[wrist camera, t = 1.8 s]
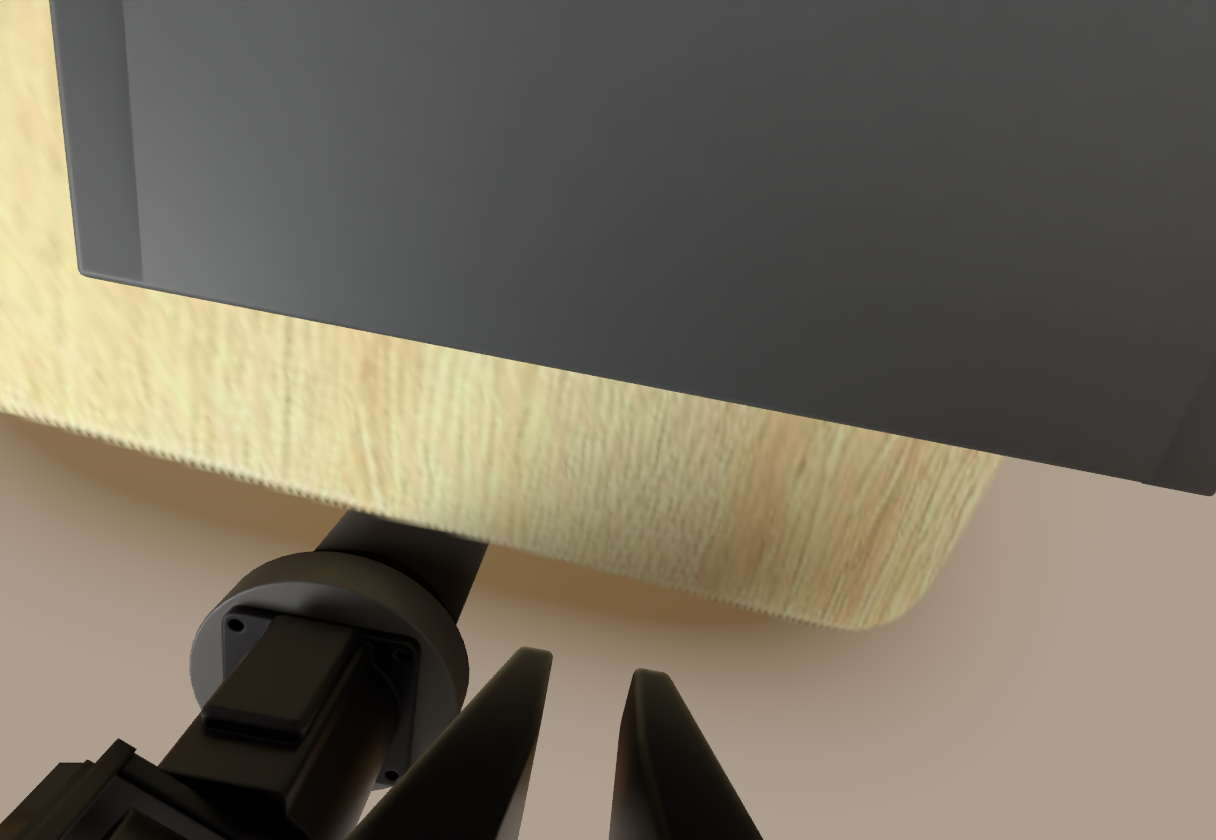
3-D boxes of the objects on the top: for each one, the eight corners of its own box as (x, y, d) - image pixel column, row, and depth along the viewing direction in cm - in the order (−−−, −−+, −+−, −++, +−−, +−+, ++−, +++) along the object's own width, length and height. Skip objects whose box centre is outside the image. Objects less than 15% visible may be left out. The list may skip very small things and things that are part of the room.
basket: (855, 281, 19) (1215, 499, 7) (439, 198, 19) (75, 278, 7) (961, -47, 16) (1891, -636, 4) (470, -150, 16) (-78, -1098, 4)
